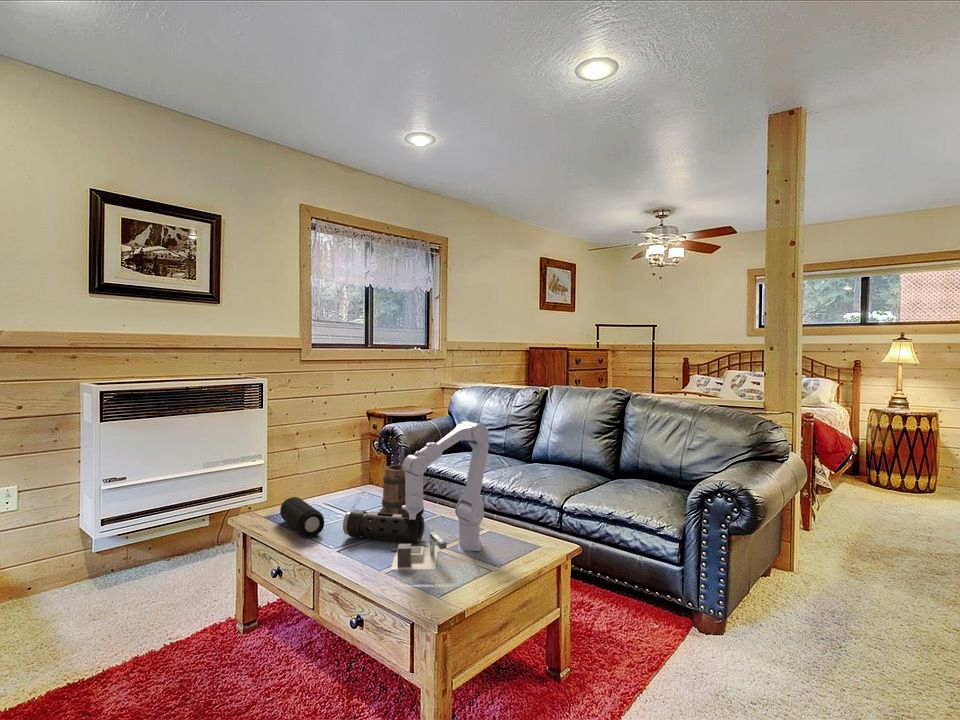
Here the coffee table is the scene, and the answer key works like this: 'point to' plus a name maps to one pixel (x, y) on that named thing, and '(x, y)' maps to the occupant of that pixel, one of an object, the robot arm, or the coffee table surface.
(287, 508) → the portable speaker
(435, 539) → the clip
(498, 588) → the coffee table surface
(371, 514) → the muzzle brake
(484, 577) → the coffee table surface
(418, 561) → the socket base
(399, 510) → the tankard
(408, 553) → the plug
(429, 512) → the coffee table surface
